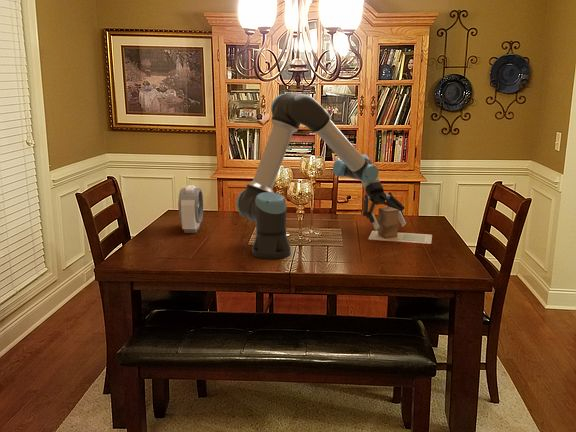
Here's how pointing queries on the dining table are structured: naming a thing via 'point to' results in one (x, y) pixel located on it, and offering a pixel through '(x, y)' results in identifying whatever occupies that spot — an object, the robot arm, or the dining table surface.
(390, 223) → the walnut block
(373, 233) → the board
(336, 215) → the dining table surface
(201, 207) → the alarm clock
